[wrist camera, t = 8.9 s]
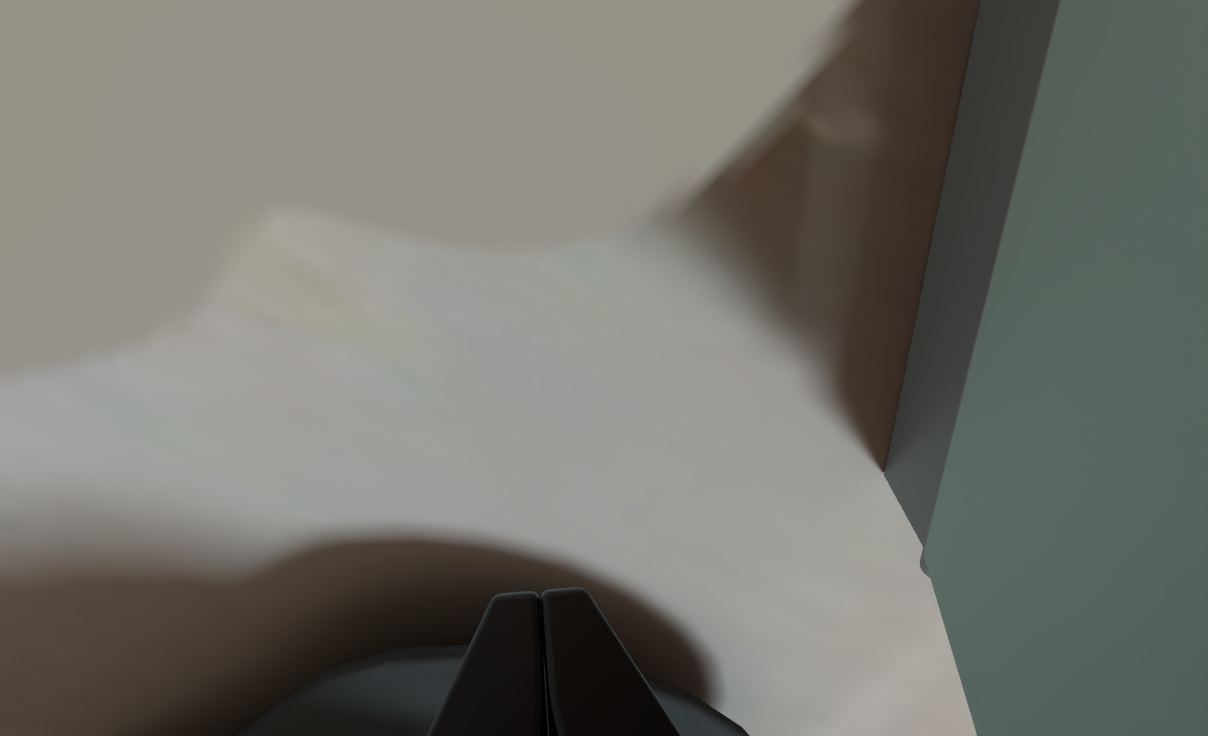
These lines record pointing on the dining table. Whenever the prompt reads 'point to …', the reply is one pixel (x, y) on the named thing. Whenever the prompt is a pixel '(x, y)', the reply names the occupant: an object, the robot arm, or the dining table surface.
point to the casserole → (422, 699)
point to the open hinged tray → (965, 241)
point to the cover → (1090, 400)
